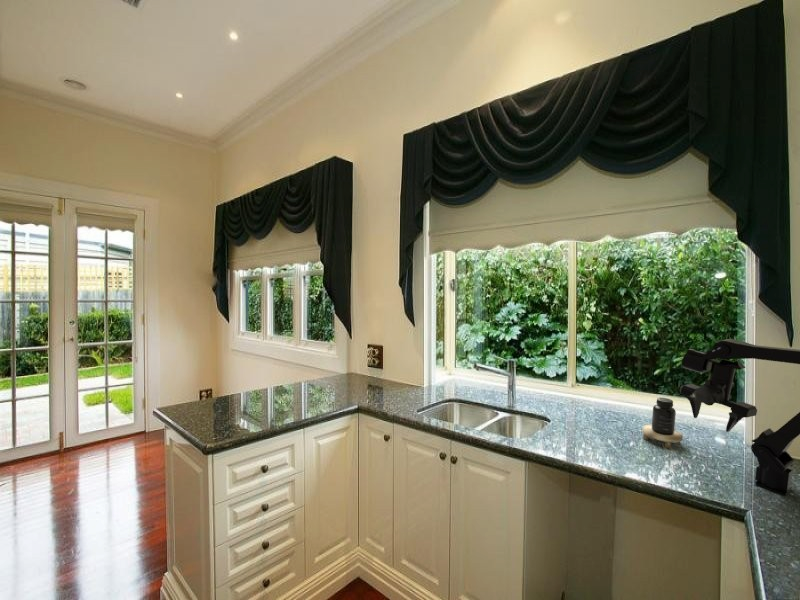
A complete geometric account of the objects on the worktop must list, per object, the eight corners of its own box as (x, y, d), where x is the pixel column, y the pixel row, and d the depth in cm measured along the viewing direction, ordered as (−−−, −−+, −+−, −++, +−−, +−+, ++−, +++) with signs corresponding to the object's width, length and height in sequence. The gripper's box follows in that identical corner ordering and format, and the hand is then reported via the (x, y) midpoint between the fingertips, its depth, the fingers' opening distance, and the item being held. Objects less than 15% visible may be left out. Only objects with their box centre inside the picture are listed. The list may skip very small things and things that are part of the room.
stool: (688, 443, 136) (688, 434, 136) (672, 451, 130) (673, 442, 130) (651, 431, 147) (652, 422, 146) (635, 438, 140) (636, 428, 140)
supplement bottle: (649, 426, 142) (651, 395, 141) (671, 429, 140) (673, 397, 139) (653, 433, 136) (656, 401, 135) (676, 437, 133) (679, 404, 132)
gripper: (673, 370, 125) (665, 414, 128) (741, 392, 108) (730, 443, 111) (694, 367, 129) (686, 410, 132) (763, 389, 112) (751, 437, 115)
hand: (710, 424), depth 122 cm, fingers open, 9 cm apart
